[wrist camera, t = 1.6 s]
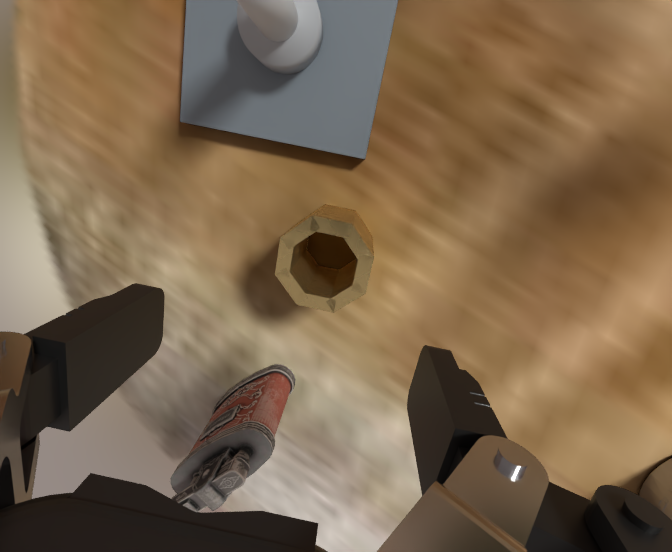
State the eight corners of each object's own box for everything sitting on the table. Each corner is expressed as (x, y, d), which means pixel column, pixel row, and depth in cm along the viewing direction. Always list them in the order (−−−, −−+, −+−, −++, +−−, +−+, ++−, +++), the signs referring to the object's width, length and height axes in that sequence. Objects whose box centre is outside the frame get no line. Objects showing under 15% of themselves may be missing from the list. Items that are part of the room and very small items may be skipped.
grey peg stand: (411, -63, 20) (449, -262, 11) (364, 159, 24) (363, 154, 14) (202, -102, 20) (63, -330, 11) (188, 123, 24) (75, 96, 15)
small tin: (277, 355, 28) (232, 450, 19) (304, 385, 29) (274, 492, 20) (207, 404, 30) (134, 512, 21) (234, 431, 31) (174, 548, 21)
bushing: (377, 214, 25) (380, 229, 19) (361, 285, 26) (359, 318, 20) (303, 199, 25) (284, 209, 19) (291, 270, 26) (271, 299, 20)
